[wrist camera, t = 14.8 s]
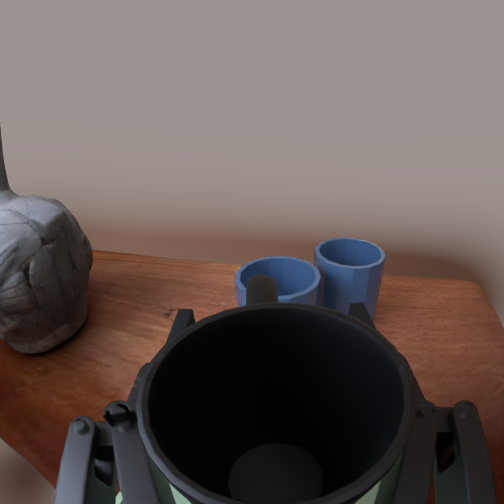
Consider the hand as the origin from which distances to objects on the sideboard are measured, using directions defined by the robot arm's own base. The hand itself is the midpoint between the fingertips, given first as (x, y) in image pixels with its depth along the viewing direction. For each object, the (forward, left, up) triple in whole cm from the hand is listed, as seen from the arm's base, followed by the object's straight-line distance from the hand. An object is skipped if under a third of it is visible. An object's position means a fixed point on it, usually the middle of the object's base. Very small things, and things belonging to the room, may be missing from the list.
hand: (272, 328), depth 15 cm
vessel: (+33, +14, -13) cm, 38 cm away
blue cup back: (+5, -18, -12) cm, 22 cm away
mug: (-3, +3, -6) cm, 8 cm away
